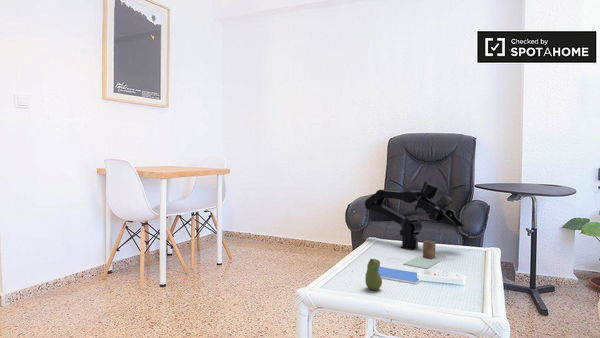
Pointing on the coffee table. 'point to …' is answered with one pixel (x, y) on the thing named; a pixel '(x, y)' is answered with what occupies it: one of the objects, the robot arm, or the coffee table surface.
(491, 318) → the coffee table surface
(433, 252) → the walnut block
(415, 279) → the tablet computer
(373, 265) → the pear
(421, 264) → the pale green flat panel
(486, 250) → the coffee table surface
